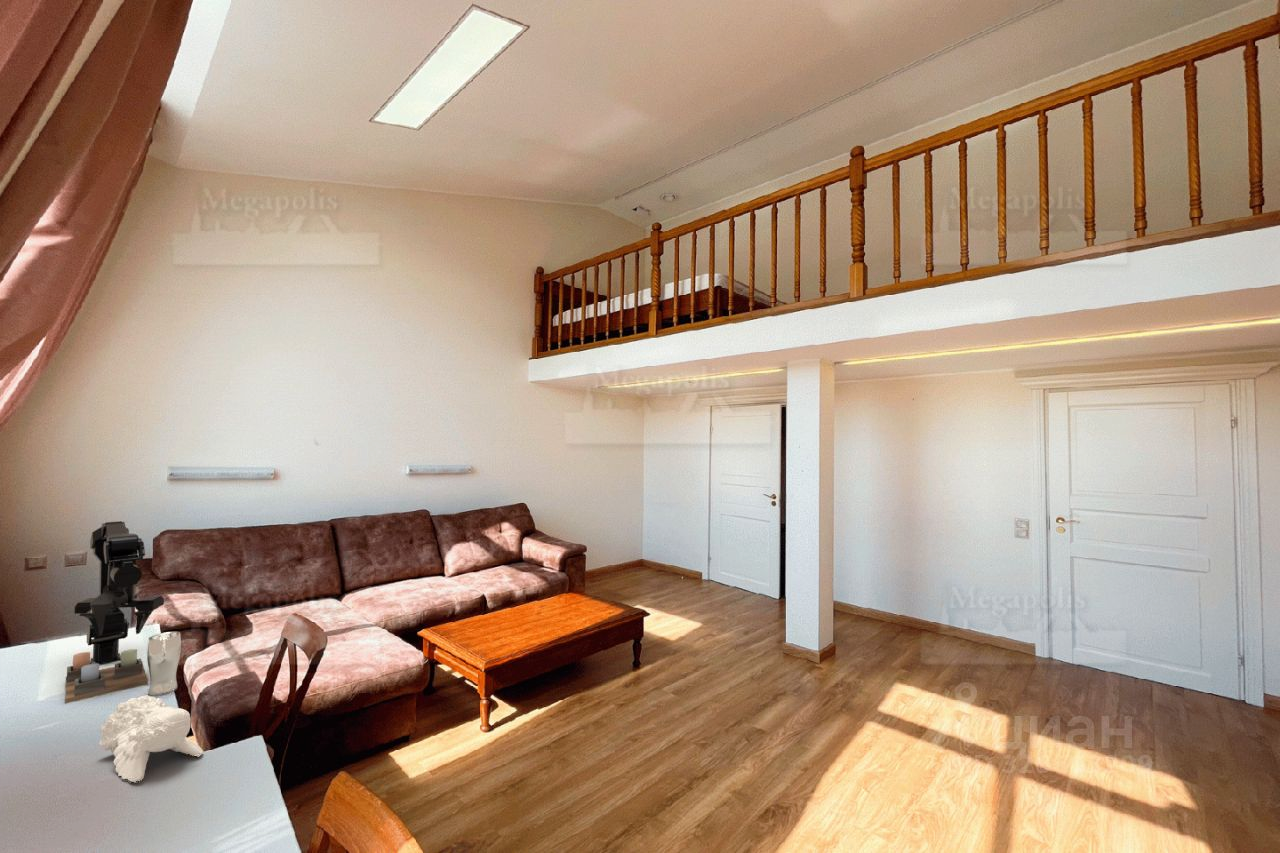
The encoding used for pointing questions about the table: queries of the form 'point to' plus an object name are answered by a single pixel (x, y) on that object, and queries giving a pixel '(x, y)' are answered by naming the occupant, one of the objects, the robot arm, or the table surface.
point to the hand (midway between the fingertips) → (119, 634)
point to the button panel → (104, 681)
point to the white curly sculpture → (145, 734)
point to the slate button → (90, 673)
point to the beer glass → (163, 662)
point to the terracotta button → (81, 660)
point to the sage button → (128, 658)
